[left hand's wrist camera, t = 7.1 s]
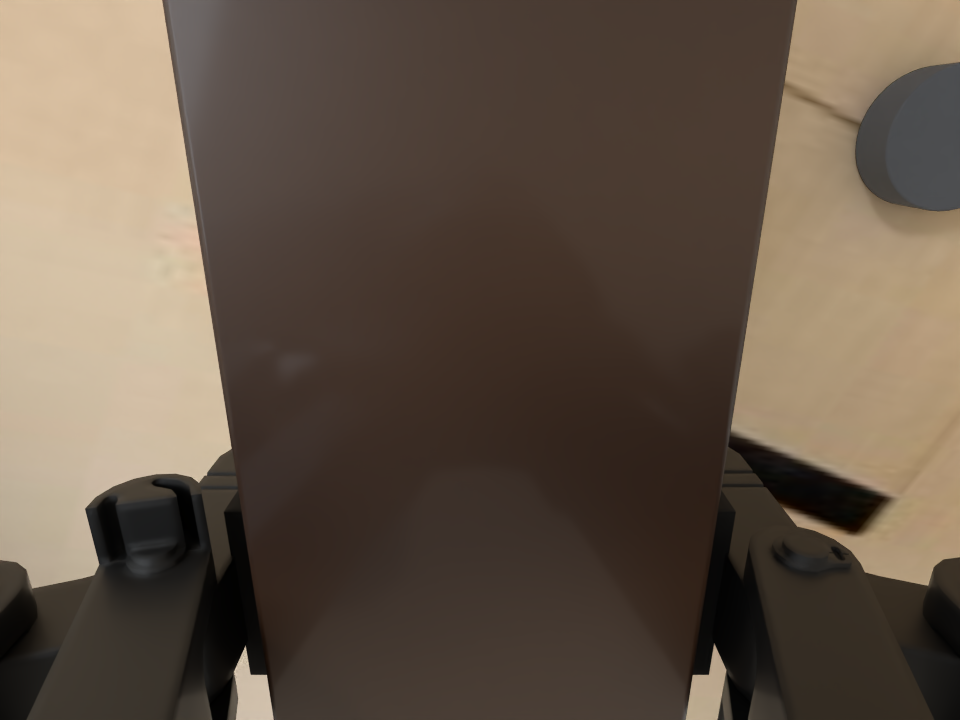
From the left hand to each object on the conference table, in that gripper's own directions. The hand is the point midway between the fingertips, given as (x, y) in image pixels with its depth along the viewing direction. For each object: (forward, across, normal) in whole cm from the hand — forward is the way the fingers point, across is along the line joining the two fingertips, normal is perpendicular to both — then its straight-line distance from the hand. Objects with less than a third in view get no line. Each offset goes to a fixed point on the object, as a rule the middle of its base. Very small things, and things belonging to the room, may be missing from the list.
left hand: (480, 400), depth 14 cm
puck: (+12, -17, -6) cm, 21 cm away
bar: (0, 0, -8) cm, 9 cm away
